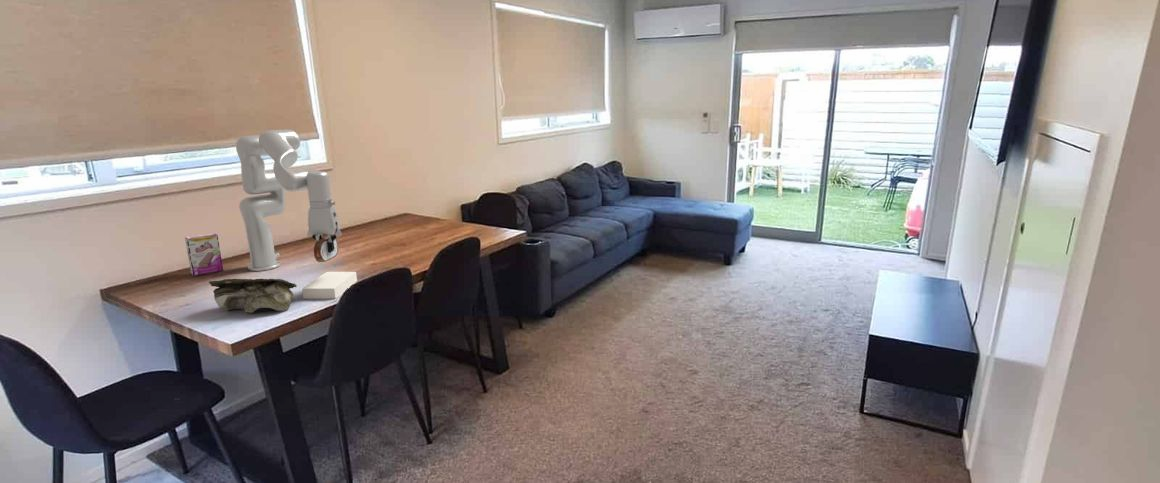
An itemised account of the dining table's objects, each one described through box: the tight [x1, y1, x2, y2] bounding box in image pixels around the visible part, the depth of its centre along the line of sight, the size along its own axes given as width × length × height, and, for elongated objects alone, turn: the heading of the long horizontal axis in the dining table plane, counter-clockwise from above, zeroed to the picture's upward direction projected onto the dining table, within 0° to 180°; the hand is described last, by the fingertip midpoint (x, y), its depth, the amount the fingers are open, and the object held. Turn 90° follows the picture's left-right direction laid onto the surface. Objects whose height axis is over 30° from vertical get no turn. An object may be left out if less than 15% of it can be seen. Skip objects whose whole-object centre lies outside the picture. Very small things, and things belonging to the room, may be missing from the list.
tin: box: [313, 236, 339, 263], centre depth 211 cm, size 15×3×8 cm, turn 179°
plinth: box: [302, 271, 358, 300], centre depth 215 cm, size 20×12×4 cm, turn 179°
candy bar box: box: [184, 232, 224, 277], centre depth 234 cm, size 11×5×16 cm, turn 135°
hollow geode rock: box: [208, 278, 298, 313], centre depth 193 cm, size 28×13×15 cm
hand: (326, 251), depth 211 cm, fingers closed on tin, 2 cm apart
